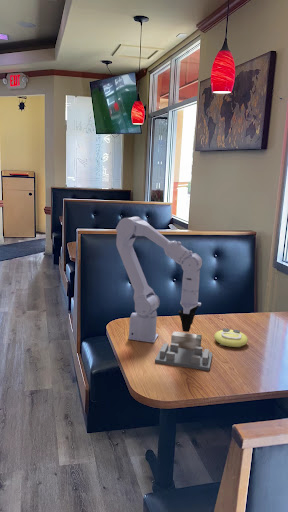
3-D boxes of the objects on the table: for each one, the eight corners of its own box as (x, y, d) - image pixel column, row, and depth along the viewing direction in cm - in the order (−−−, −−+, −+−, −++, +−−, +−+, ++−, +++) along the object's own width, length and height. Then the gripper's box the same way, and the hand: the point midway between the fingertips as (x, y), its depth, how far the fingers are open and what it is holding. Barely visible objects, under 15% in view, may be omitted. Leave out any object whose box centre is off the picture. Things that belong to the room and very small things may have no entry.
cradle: (154, 362, 132) (155, 353, 132) (162, 348, 144) (162, 339, 143) (209, 370, 129) (209, 361, 128) (212, 355, 140) (212, 346, 139)
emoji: (249, 342, 145) (247, 328, 156) (213, 338, 147) (215, 324, 158) (247, 352, 146) (246, 337, 157) (212, 348, 148) (214, 334, 159)
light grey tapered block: (170, 346, 146) (171, 335, 145) (172, 341, 150) (173, 331, 149) (199, 350, 144) (200, 339, 143) (200, 345, 148) (201, 335, 147)
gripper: (199, 296, 135) (196, 336, 138) (204, 285, 149) (201, 322, 152) (178, 294, 137) (175, 333, 139) (184, 283, 151) (181, 319, 153)
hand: (187, 327), depth 146 cm, fingers open, 7 cm apart
